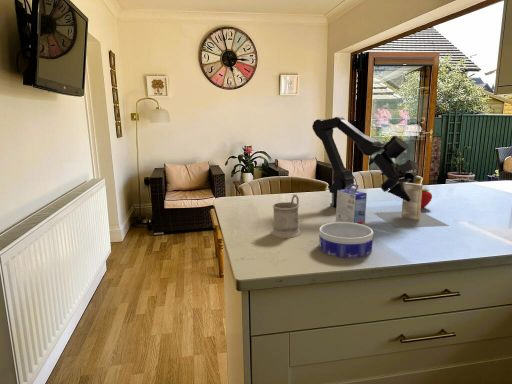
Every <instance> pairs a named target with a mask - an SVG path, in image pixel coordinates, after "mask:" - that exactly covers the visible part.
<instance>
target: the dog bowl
mask: <svg viewBox="0 0 512 384" xmlns="http://www.w3.org/2000/svg"><path fill="white" fill-rule="evenodd" d="M318 233H319V235H318V237H319V239H318V243H319V245H318V246H319V249H320V251H321V252H322V253H324V254H326V255H329V256H332V257H335V258H343V259H357V258H363V257H367V256H369V255H370V254H372V252H373V244H374V243H373V242H374V231H373V229H372V228H371V227H369V226H367V225H361V224H357V223H350V222H336V221H335V222H328V223H325V224H322V225H321V226H320V227H319V229H318Z"/></svg>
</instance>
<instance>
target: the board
mask: <svg viewBox="0 0 512 384" xmlns="http://www.w3.org/2000/svg"><path fill="white" fill-rule="evenodd" d="M422 187H423V184H422V183H415V184H414V183H404V190H405V191H406V193H407V194H408V196H409V198H410V199H411V200H410V201H409V202H408V201H406V200H404V199H402V205H401V206H402V207H401V212H402V217H403V218H408V219H414V220H419V219H420V211H421V212H422V210H421V209H422V208H421V199H422Z"/></svg>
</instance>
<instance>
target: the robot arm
mask: <svg viewBox="0 0 512 384" xmlns="http://www.w3.org/2000/svg"><path fill="white" fill-rule="evenodd" d="M311 129H312V131H313V132H314V134H315V136H316V137H317V138H318V139H319V141H321V144H322V146H323V148H324V150H325V153H326V155H327V159H328V160H329V163H330V166H331V168H332V171H333V175H332V180H333V183H332V184H331V185H330V186H328V191H329V193H330V194H331V203H330V205H331V206H332V207H333V208H335V209H336V208H337V190H342V189H349V188H350V186H351V184H355V176H354V175H353V174H354V173H353V171H352V169H347V168H346V167H345V165H344V163H343V160H342V158H341V155H340V152H339V150H338V147H337V144H336V142H335V139H334V137H333V135H334V129H338V130H339V131H340V132H342V133H343V134H344V135H346V136H347V137H348V138H349V139H351V140H352V141H353V142H355V144H356V145H357V147H358V149H359V150H360V151H361V153H362V155H364V156H366V157H367V156H368V157H369V156H373V157H370V158H369V159H368V161H369V162H368V166H373V165H375V166H376V167H377V168H378V169H379V170H380V172H381V174H380V175H381V176H382V177H385V178H386V180H385V181H384V182H383V183H382V184H381V185H380V189H381V191H383V193H385V192H387V194H389V193H390V194H391V195H394V196H396V197H397V198H400V199H402V200H403V199H404V200H406V201H408V202H409V201H410V200H411V199H410V198H409V196H408V194H407V193H406V191H405V190H404V183H414V184H416V180H417V177H418V174H417V173H416V172H415V171H413V170H416V169H417V170H418V168H417V164H418V162H416V161H415V160H413V159H412V158H410V159H408V160H406V161H405V163H401V164H400V163H398V162H397V163H395V162H394V160H393V159H395V160H396V159H398V158H399V157H400V156H401V155H402V154H404V152H406V150H408V149H409V145H408V144H407V142H406V141H405V140H403V139H402V138H400V137H398V136H397V135H393V136H392V137H391V138H390V140H388V142H386V144H385V143H381V141H379V140H378V139H376V138H374V137H372V136H369V135H366V134H364V133H363V132H362V131H360V130H359V129H358V128H356V127H355V126H354V125H353V124H351V123H350V122H349V121H348V120H346V118H344V117H343V116H335V117H332V118H327V119H325V118H322V119H320V118H319V119H315V120H314V121H313V123H312V128H311Z"/></svg>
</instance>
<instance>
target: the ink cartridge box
mask: <svg viewBox="0 0 512 384" xmlns="http://www.w3.org/2000/svg"><path fill="white" fill-rule="evenodd" d="M359 186H360V185H359V184H355V183H354V184H351V186H350V188H349V189H342V190H337V208H335V210H336V211H335V222H350V223H357V224H361V225H365V224H366V210H367V208H366V207H367V195H368V194H367V193H366V192H363V191H358V188H359ZM354 187H355V188H354ZM365 226H366V225H365Z"/></svg>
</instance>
